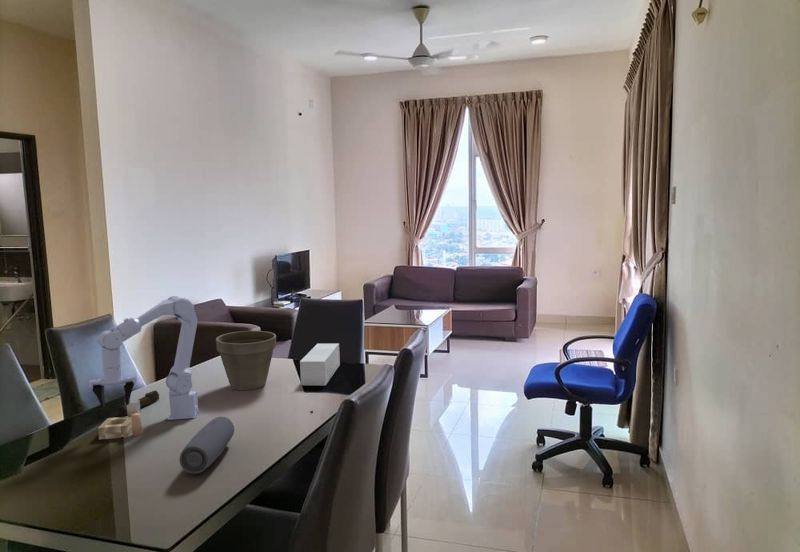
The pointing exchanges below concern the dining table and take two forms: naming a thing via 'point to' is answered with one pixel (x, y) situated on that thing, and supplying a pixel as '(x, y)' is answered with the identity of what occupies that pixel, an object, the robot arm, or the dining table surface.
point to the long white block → (319, 364)
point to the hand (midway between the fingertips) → (115, 405)
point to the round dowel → (136, 424)
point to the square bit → (133, 407)
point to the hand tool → (141, 402)
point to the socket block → (115, 428)
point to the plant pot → (246, 357)
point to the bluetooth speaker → (206, 445)
